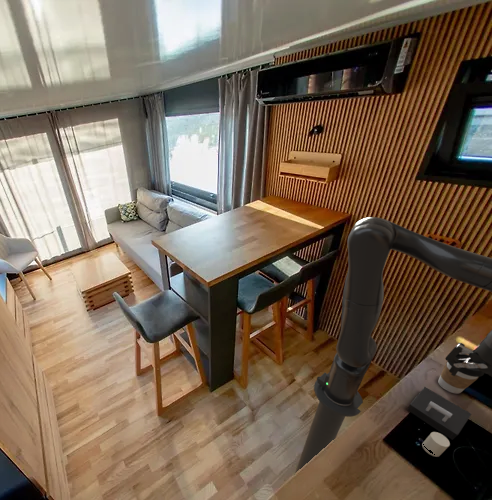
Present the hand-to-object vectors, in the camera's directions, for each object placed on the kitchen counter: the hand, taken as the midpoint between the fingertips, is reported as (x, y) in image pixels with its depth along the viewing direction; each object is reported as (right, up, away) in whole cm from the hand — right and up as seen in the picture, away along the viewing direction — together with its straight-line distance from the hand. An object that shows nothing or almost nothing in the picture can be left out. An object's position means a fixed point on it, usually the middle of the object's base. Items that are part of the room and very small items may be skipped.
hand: (476, 385), depth 69 cm
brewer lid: (+11, -18, +18) cm, 28 cm away
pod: (+2, -27, +13) cm, 30 cm away
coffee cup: (+26, -15, +27) cm, 40 cm away
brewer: (+12, -21, +20) cm, 32 cm away
